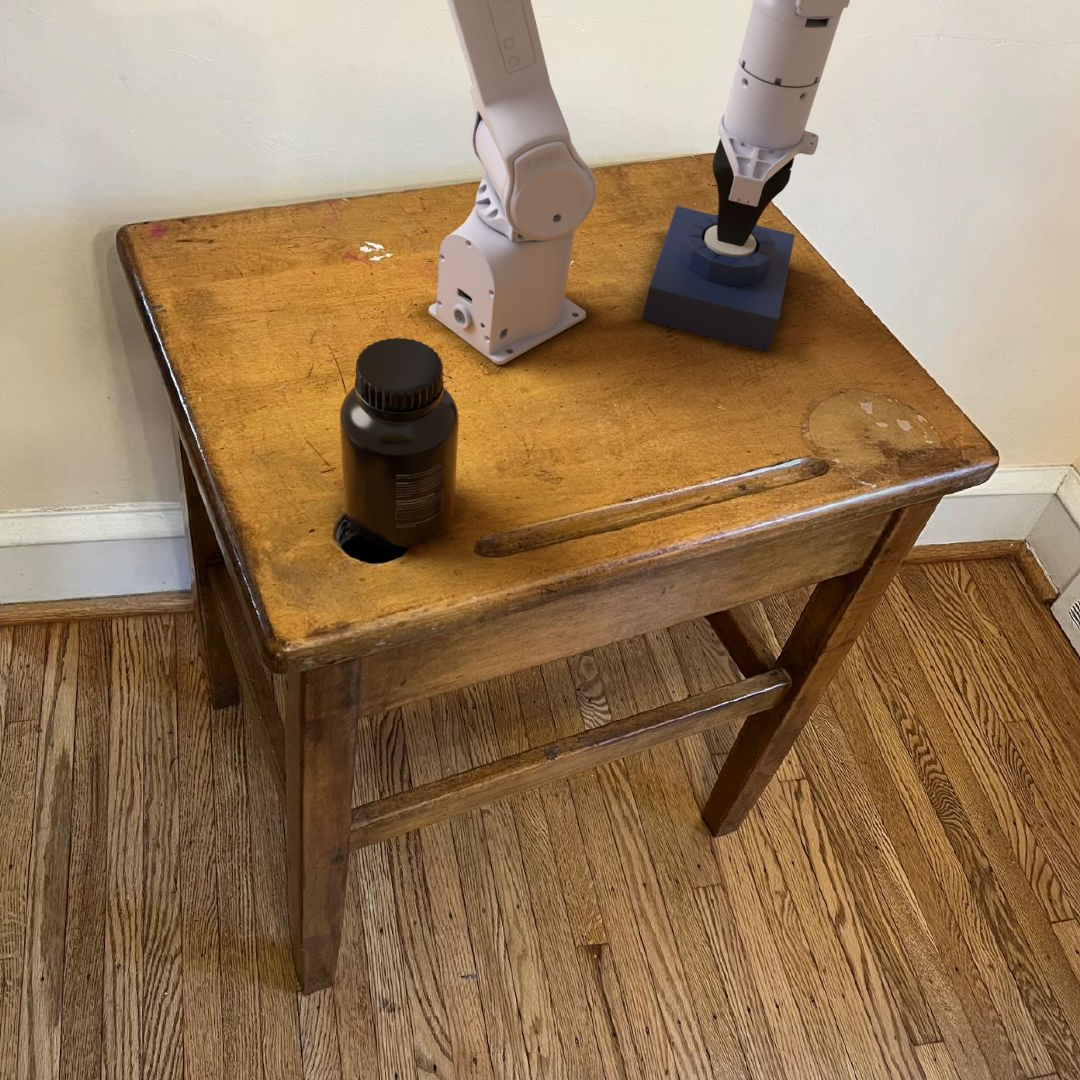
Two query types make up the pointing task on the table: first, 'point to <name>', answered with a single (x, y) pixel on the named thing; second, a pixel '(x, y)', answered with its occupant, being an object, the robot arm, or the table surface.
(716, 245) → the cylinder
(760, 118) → the robot arm
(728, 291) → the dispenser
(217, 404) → the table surface
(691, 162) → the table surface
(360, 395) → the supplement bottle
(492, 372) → the table surface
